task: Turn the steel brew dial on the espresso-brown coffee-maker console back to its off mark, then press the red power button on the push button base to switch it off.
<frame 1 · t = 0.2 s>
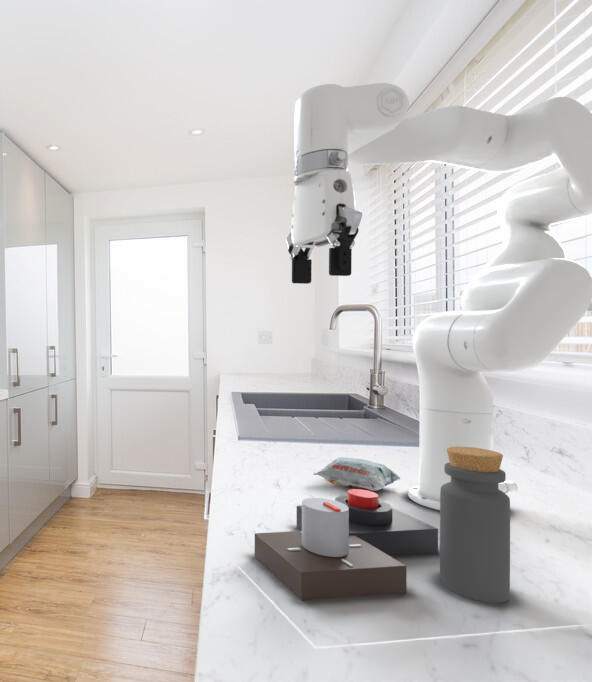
hand: (319, 279, 75), 37 cm above the countertop, tool pointing down, fingers open, 9 cm apart
power button: (362, 499, 64), point 5 cm above the countertop, slide at 0.1 cm
bottle: (473, 590, 51), on the countertop
packaged food: (356, 488, 87), on the countertop
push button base: (362, 540, 64), on the countertop
brew dial: (324, 524, 55), point 6 cm above the countertop, hinge at 90.0°
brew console: (324, 574, 55), on the countertop
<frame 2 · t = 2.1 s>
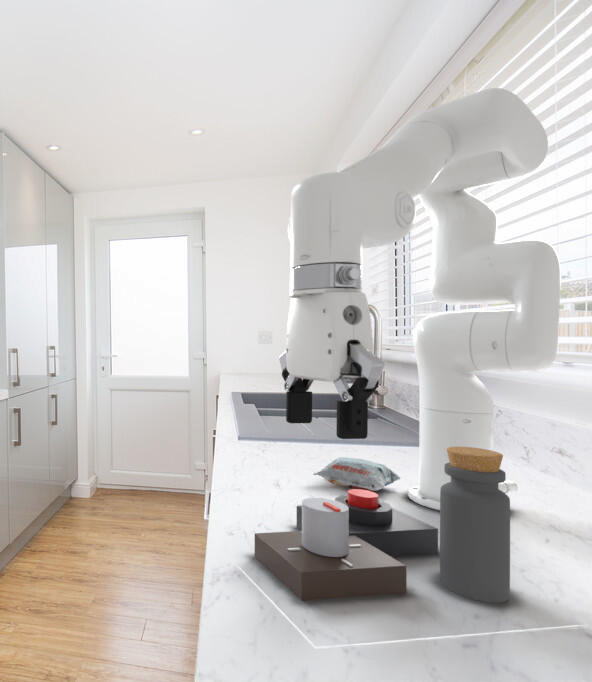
hand: (323, 429, 56), 17 cm above the countertop, tool pointing down, fingers open, 9 cm apart
nothing on the countertop moved.
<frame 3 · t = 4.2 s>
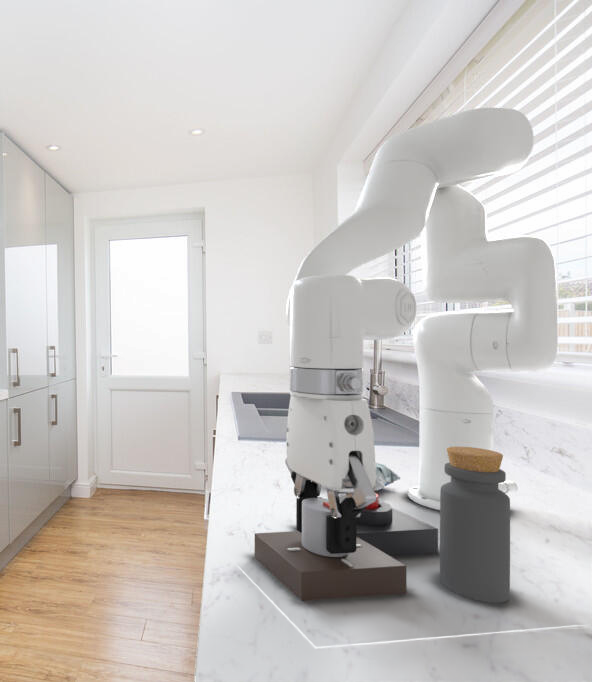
hand: (324, 539, 55), 4 cm above the countertop, tool pointing down, fingers closed on brew dial, 4 cm apart
brew dial: (324, 524, 55), point 6 cm above the countertop, hinge at 90.1°, touching gripper
everything else where it was.
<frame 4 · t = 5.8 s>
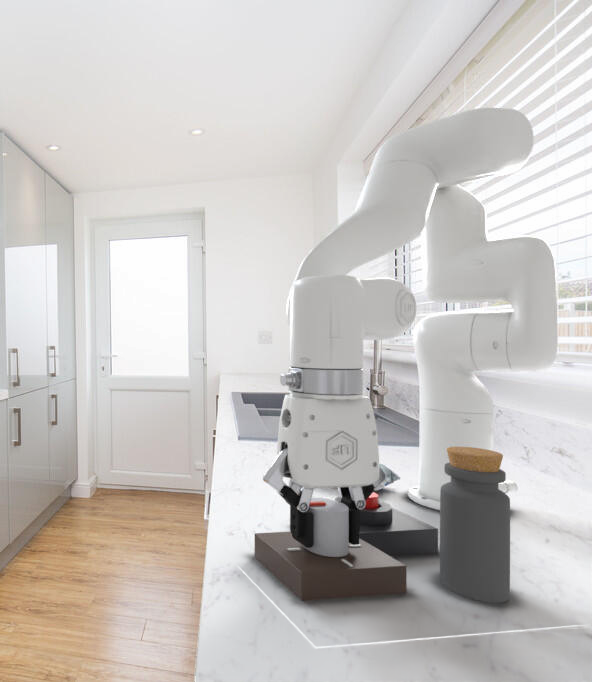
hand: (324, 539, 55), 4 cm above the countertop, tool pointing down, fingers closed on brew dial, 4 cm apart
brew dial: (324, 524, 55), point 6 cm above the countertop, hinge at -0.1°, touching gripper
everything else where it was.
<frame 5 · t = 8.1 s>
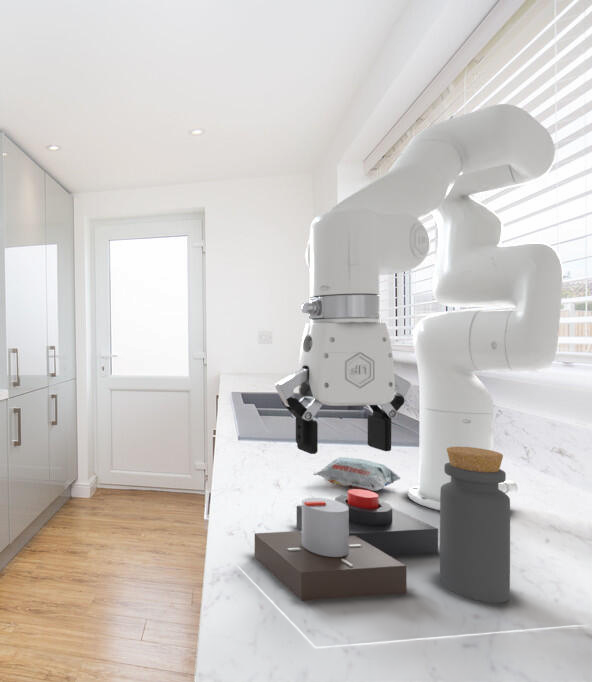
hand: (343, 450, 59), 13 cm above the countertop, tool pointing down, fingers open, 9 cm apart
brew dial: (324, 524, 55), point 6 cm above the countertop, hinge at -0.6°
everything else where it was.
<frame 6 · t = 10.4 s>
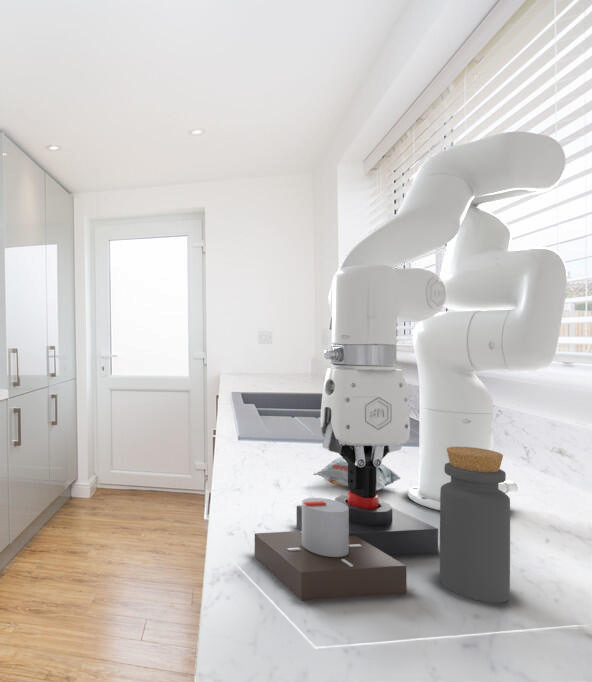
hand: (361, 494, 64), 6 cm above the countertop, tool pointing down, fingers closed
power button: (362, 500, 64), point 5 cm above the countertop, slide at 0.0 cm, touching gripper
everything else where it was.
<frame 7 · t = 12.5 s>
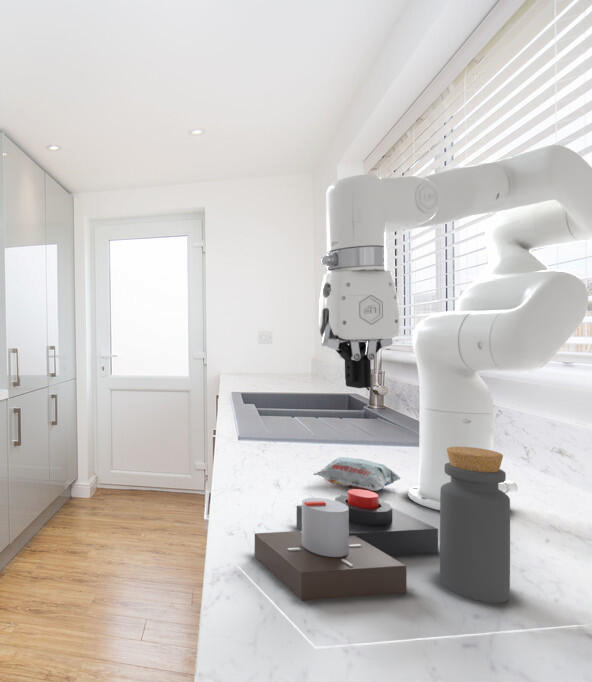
hand: (358, 386, 70), 20 cm above the countertop, tool pointing down, fingers closed
power button: (362, 499, 64), point 5 cm above the countertop, slide at 0.1 cm
everything else where it was.
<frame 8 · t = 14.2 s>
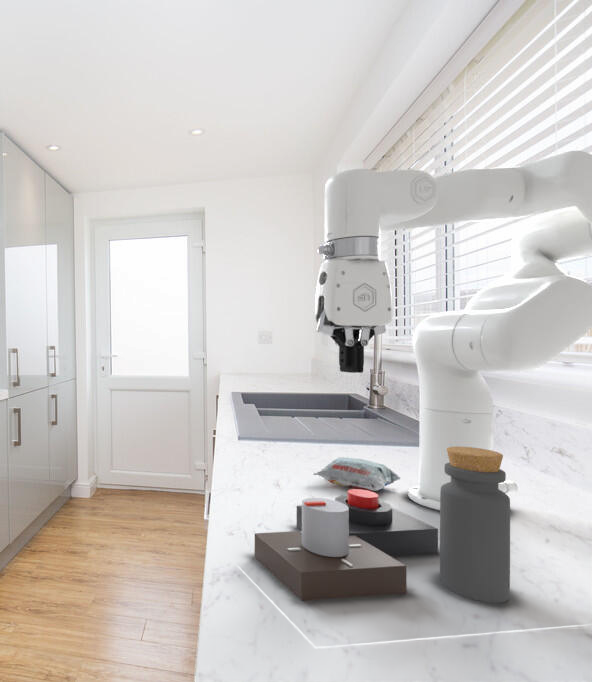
hand: (351, 371, 73), 22 cm above the countertop, tool pointing down, fingers closed
nothing on the countertop moved.
at the end: brew dial at -1° (first picture: +90°); power button pushed in 1.1 cm at the most during the clip and back out by the end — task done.
